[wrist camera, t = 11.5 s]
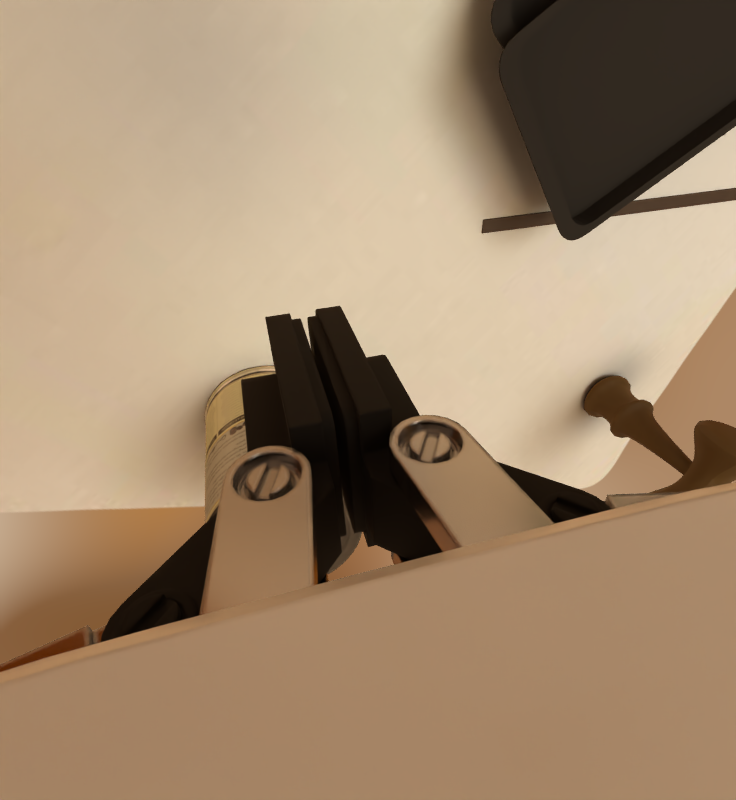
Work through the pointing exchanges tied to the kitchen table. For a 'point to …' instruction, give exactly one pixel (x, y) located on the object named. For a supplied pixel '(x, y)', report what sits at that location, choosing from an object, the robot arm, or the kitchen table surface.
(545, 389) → the kitchen table surface
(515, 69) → the tray
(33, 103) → the kitchen table surface
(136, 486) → the kitchen table surface
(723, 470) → the kendama
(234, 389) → the coffee can
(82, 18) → the kitchen table surface
